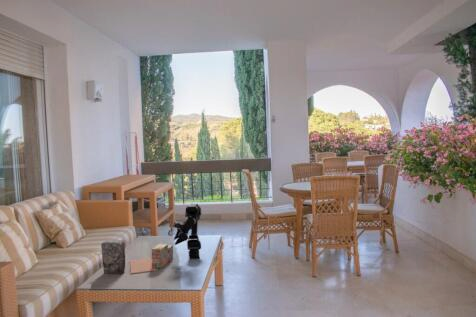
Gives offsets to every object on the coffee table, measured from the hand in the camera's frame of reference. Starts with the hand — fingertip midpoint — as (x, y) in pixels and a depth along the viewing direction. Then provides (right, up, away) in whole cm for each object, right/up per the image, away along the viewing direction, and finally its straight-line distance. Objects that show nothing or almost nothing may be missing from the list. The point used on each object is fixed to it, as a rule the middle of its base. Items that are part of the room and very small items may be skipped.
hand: (174, 241), depth 251 cm
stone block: (-35, -16, -17) cm, 41 cm away
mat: (-20, -14, -6) cm, 25 cm away
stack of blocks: (-8, -14, -2) cm, 16 cm away
